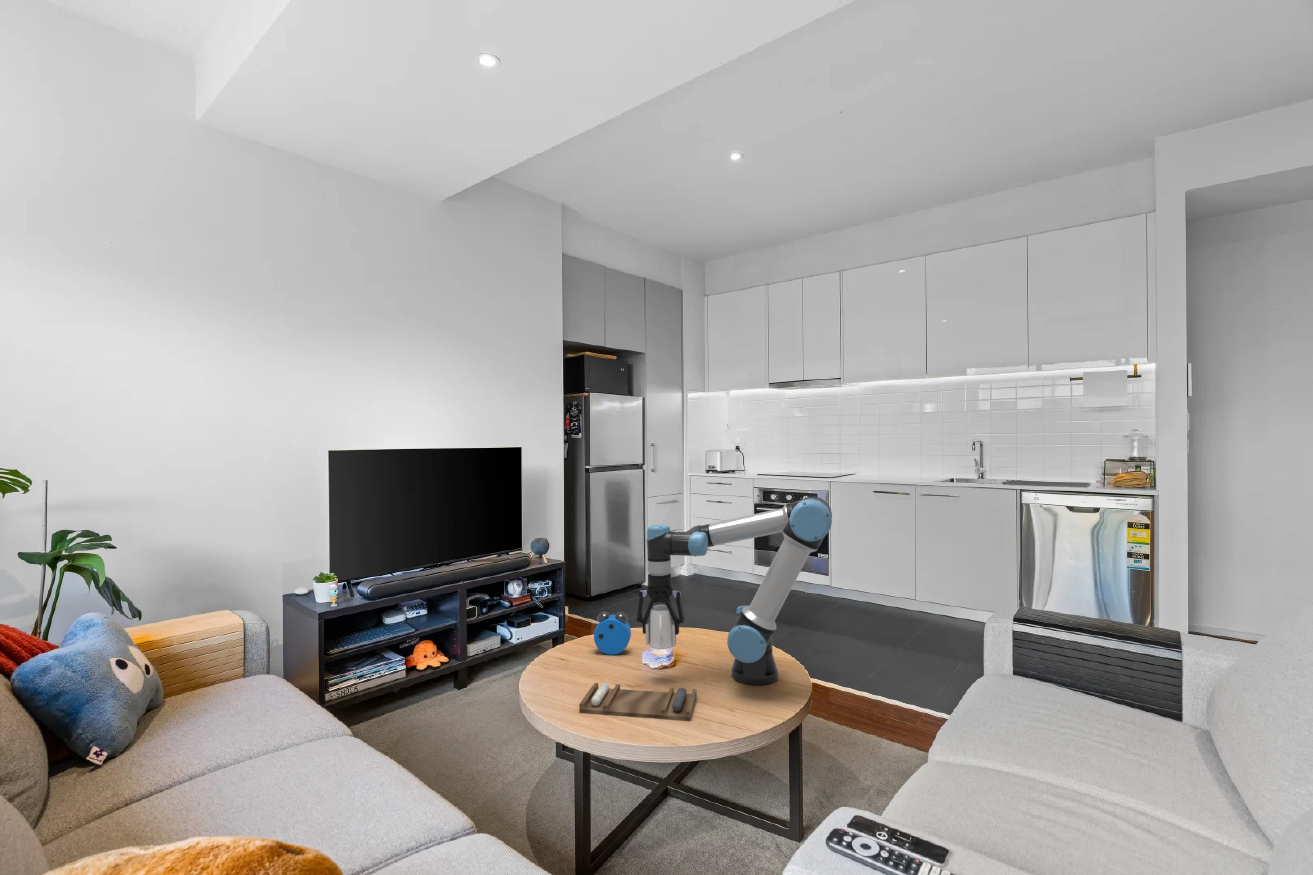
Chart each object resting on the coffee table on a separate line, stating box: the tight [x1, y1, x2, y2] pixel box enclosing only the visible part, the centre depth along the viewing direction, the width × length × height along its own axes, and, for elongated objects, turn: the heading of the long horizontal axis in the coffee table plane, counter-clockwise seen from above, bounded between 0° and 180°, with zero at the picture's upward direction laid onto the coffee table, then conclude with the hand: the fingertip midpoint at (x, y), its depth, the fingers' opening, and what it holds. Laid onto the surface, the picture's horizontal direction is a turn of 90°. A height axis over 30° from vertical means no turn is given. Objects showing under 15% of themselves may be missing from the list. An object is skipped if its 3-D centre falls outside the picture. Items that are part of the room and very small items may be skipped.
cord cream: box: [591, 682, 610, 706], centre depth 186 cm, size 3×13×3 cm, turn 170°
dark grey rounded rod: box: [672, 687, 688, 712], centre depth 182 cm, size 3×13×3 cm, turn 170°
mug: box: [648, 604, 675, 650], centre depth 201 cm, size 12×8×12 cm
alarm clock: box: [593, 611, 632, 656], centre depth 230 cm, size 13×6×15 cm, turn 85°
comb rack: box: [578, 682, 698, 722], centre depth 184 cm, size 32×16×2 cm, turn 80°
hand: (661, 643), depth 201 cm, fingers closed on mug, 8 cm apart
